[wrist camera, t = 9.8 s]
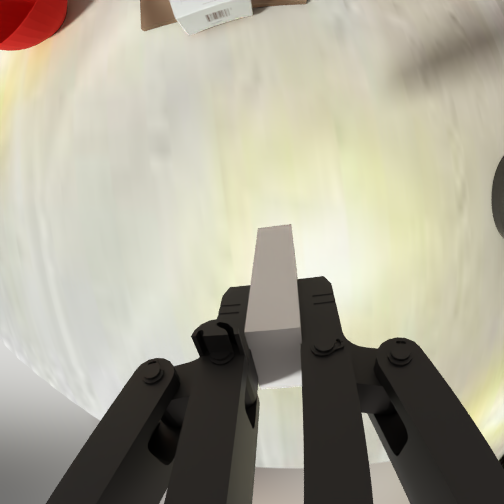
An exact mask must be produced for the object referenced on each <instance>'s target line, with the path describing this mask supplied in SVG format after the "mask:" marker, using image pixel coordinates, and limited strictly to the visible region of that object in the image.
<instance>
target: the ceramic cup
mask: <svg viewBox="0 0 504 504" xmlns="http://www.w3.org/2000/svg"><path fill="white" fill-rule="evenodd" d="M67 3H68V0H0V50H21V49H26V48H30V47H32V46H35V45H37V44H39V43H41V42H42V41H44V40H46V39H47V38H49V37H51V36H52V35H53V34H54V33H55V32H56V31H57V30H58V29H59V28H60V26H61V25H62V23H63V22H64V20H65V17H66V13H67Z"/></svg>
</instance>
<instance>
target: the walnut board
mask: <svg viewBox="0 0 504 504" xmlns="http://www.w3.org/2000/svg"><path fill="white" fill-rule="evenodd" d="M306 1H307V0H251V4H252V8H256V7H265V6H277V5H295V4H306ZM140 9H141V29H142V30H143V31H147V30H150V29H154V28H157V27H160V26H164V25H167V24H171V23H175V22H178V21H177V20H176V19H175V16H174V13H173V10H172V7H171V4H170V1H169V0H140Z"/></svg>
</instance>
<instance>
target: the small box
mask: <svg viewBox="0 0 504 504" xmlns="http://www.w3.org/2000/svg"><path fill="white" fill-rule="evenodd" d="M169 1H170V4H171V7H172V10H173V13H174V16H175V19H176V20H177V21H178V23H179V24H180V25H181V27H182V28H183V29H184V30H185V32H186V33H187V34H188V35H193V34H195V33H197V32H200V31H203V30H205V29H208V28H211V27H213V26H216V25H220V24H223V23H226V22H229V21H232V20H236V19H239V18H243V17H248V16H252V15H253V11H252V4H251V0H169Z"/></svg>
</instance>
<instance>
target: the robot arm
mask: <svg viewBox="0 0 504 504" xmlns="http://www.w3.org/2000/svg"><path fill="white" fill-rule="evenodd" d="M492 211H493V217H494V221H495V224H496V227H497V229H498V231H499V233H500V235H501V236H502V237H503V238H504V157H503V159H502V160H501V162H500V164H499V166H498V168H497V171H496V174H495V177H494V182H493V188H492ZM220 306H221V307H220V309H219V315H218V317H217V319H216V320H211V321H208V322H206V323H204V324H201V325H200V326H199V327H198V328H197V329H195V331H194V332H193V334H192V336H191V337H192V339H193V342H194V344H195V346H196V349H197V351H198V353H199V356H200V357H199V358H198V359H196V360H194V361H192V362H189V363H185V364H181V365H177V366H173V365H172V364H171V362H170V361H168V360H166V359H163V358H155V359H151V360H148V361H146V362H144V363H143V364H141V365H140V366H139V367H138V368H137V369H136V371H135V372H134V374H133V375H132V376H131V378H130V379H129V381H128V382H127V384H126V385H125V386H124V388H123V389H122V391H121V392H120V394H119V395H118V396H117V398H116V399H115V401H114V402H113V404H112V405H111V406H110V408H109V409H108V411H107V412H106V414H105V415H104V417H103V418H102V420H101V421H100V423H99V424H98V425H97V427H96V429H95V430H94V431H93V433H92V434H91V436H90V437H89V439H88V440H87V442H86V443H85V445H84V446H83V448H82V449H81V451H80V452H79V454H78V455H77V457H76V458H75V460H74V461H73V463H72V464H71V466H70V467H69V469H68V470H67V472H66V473H65V475H64V476H63V478H62V479H61V481H60V482H59V484H58V486H57V487H56V489H55V490H54V492H53V493H52V495H51V496H50V498H49V500H48V501H47V503H46V504H159V503H160V501H161V499H162V497H163V495H164V493H165V491H166V489H167V488H168V489H167V494H166V498H165V502H164V504H252V496H253V485H254V472H255V460H256V447H257V433H258V419H259V405H260V403H259V398H258V394H257V390H258V383H259V387H260V389H273V388H288V387H299V386H302V398H303V431H304V504H373V497H372V486H371V477H370V469H369V461H368V453H367V446H366V439H365V432H364V426H363V420H362V414H361V412H362V413H367V414H368V416H369V418H370V420H371V422H372V424H373V426H374V428H375V430H376V432H377V434H378V436H379V438H380V440H381V442H382V444H383V446H384V448H385V451H386V453H387V455H388V457H389V459H390V461H391V463H392V465H393V467H394V469H395V471H396V473H397V476H398V478H399V480H400V482H401V484H402V486H403V489H404V491H405V493H406V495H407V497H408V499H409V502H410V504H504V469H503V468H502V466H501V464H500V463H499V461H498V459H497V458H496V456H495V454H494V453H493V451H492V449H491V448H490V446H489V445H488V443H487V441H486V440H485V438H484V437H483V435H482V434H481V432H480V430H479V429H478V427H477V426H476V424H475V423H474V421H473V420H472V418H471V417H470V415H469V414H468V412H467V411H466V409H465V408H464V407H463V405H462V404H461V402H460V401H459V399H458V398H457V396H456V395H455V394H454V392H453V391H452V389H451V388H450V387H449V385H448V384H447V382H446V381H445V380H444V378H443V377H442V376H441V374H440V373H439V371H438V370H437V369H436V367H435V366H434V365H433V363H432V362H431V361H430V359H429V358H428V357H427V355H426V354H425V353H424V352H423V350H422V349H421V348H420V346H418V345H417V344H416V343H415V342H414V341H411V340H409V339H406V338H393V339H389V340H387V341H385V342H384V343H382V344H381V345H380V347H379V348H378V349H375V348H366V347H361V346H357V345H355V344H352V343H351V342H350V341H348V340H347V339H346V338H345V336H344V335H343V332H342V328H341V324H340V319H339V315H338V311H337V306H336V303H335V298H334V294H333V289H332V285H331V283H330V282H329V281H328V280H327V279H326V278H325V277H324V276H321V277H313V278H305V279H298V277H297V268H296V259H295V251H294V243H293V235H292V227H291V224H289V225H281V226H273V227H265V228H258V232H257V240H256V248H255V255H254V263H253V270H252V278H251V285H249V286H239V287H230V288H229V289H228V290H227V292H226V293H225V294H224V295H223V297H222V301H221V305H220Z"/></svg>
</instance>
